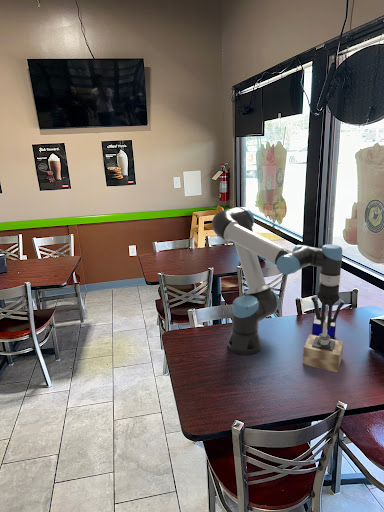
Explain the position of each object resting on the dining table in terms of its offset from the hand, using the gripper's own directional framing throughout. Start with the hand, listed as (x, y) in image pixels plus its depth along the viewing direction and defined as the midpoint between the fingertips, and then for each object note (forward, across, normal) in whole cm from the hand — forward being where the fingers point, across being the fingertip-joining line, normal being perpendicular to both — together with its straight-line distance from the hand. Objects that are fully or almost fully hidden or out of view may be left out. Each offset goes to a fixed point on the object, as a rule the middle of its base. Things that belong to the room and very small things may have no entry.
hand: (324, 335), depth 150 cm
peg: (+8, 0, 0) cm, 8 cm away
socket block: (+12, 0, 0) cm, 12 cm away
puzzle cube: (+13, -3, +19) cm, 23 cm away
